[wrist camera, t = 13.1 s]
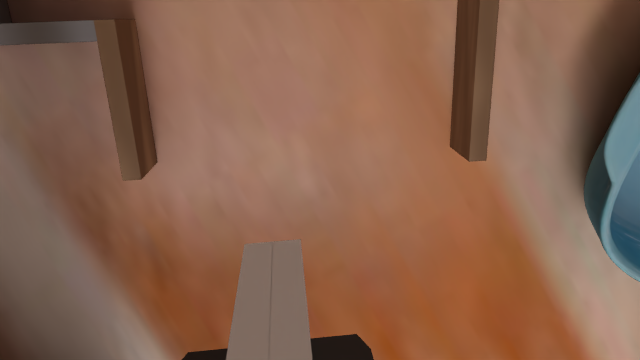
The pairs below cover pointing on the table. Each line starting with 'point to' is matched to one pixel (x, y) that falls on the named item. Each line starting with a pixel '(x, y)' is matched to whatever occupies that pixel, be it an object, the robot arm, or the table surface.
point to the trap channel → (132, 103)
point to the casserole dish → (618, 186)
